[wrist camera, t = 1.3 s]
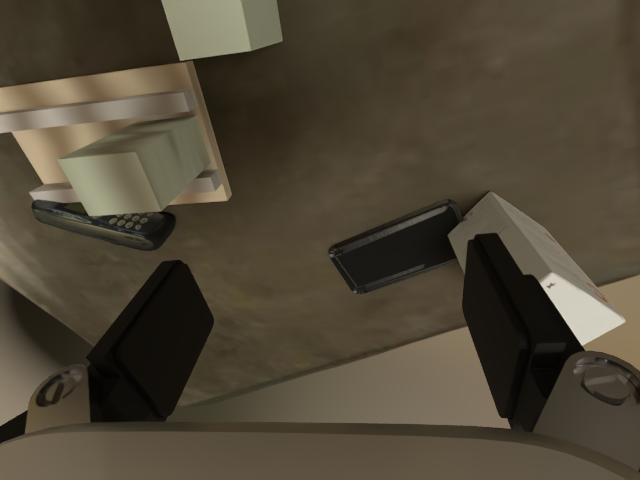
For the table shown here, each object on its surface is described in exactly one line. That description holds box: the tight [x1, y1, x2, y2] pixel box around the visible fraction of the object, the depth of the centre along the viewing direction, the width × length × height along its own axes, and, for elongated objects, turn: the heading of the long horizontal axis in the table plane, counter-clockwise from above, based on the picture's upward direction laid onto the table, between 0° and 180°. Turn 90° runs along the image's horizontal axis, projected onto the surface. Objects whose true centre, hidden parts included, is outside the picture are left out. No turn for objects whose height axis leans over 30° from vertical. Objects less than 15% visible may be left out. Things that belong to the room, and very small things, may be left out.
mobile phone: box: [32, 199, 175, 251], centre depth 36 cm, size 5×3×15 cm
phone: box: [330, 199, 464, 294], centre depth 38 cm, size 8×1×15 cm
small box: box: [448, 191, 625, 345], centre depth 30 cm, size 8×6×13 cm
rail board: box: [0, 61, 232, 216], centre depth 29 cm, size 20×13×12 cm, turn 97°
